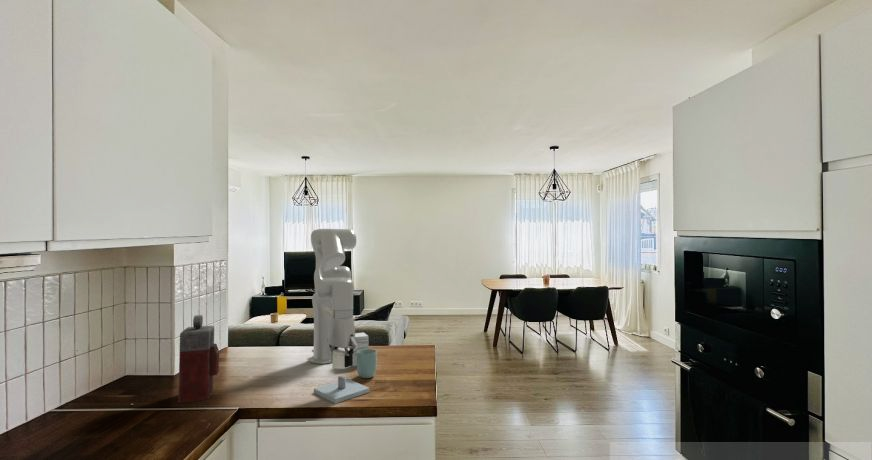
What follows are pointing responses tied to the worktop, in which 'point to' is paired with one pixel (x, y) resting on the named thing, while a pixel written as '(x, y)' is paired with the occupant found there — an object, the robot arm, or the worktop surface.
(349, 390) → the stud plate
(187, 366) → the red grey canister
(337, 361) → the cap
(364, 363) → the cup
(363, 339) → the supplement box
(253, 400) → the worktop surface
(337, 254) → the robot arm
